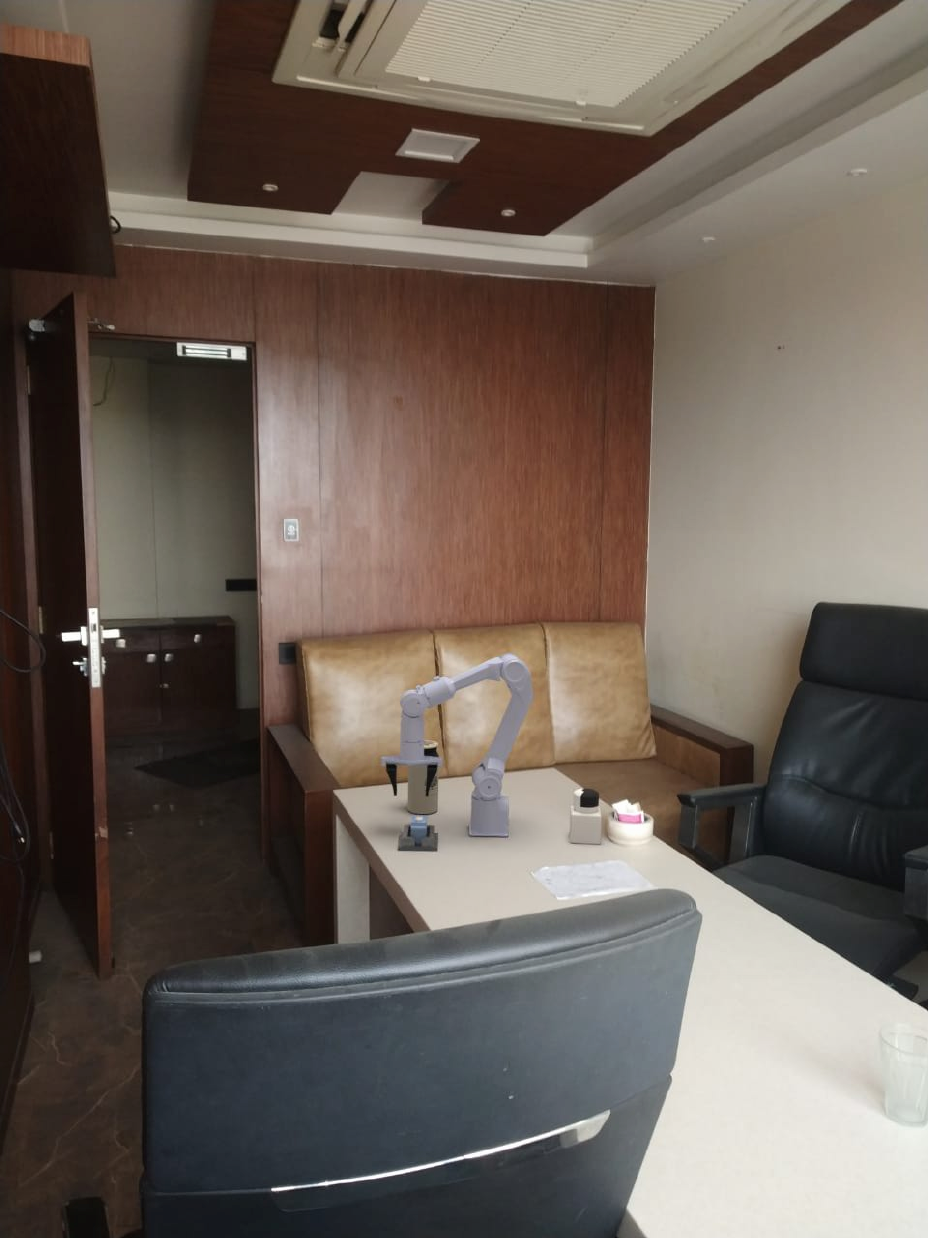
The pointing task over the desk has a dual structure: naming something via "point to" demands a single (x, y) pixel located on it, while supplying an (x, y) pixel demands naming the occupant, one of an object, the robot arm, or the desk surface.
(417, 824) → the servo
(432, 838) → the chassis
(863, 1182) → the desk surface
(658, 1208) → the desk surface
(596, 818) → the grey rotary knob pedestal
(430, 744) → the travel mug
